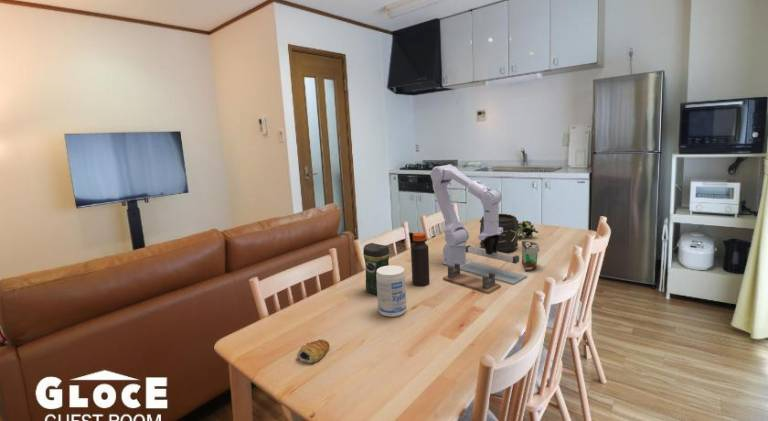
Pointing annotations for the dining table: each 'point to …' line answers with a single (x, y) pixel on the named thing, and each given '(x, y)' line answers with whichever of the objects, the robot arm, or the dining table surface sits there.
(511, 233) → the wooden barrel
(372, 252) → the coffee jar
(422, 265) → the vinegar
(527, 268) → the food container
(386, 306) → the supplement tub
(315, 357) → the pastry
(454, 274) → the wooden stand
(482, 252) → the steel rail
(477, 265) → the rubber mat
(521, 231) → the green leafy bush
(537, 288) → the dining table surface
